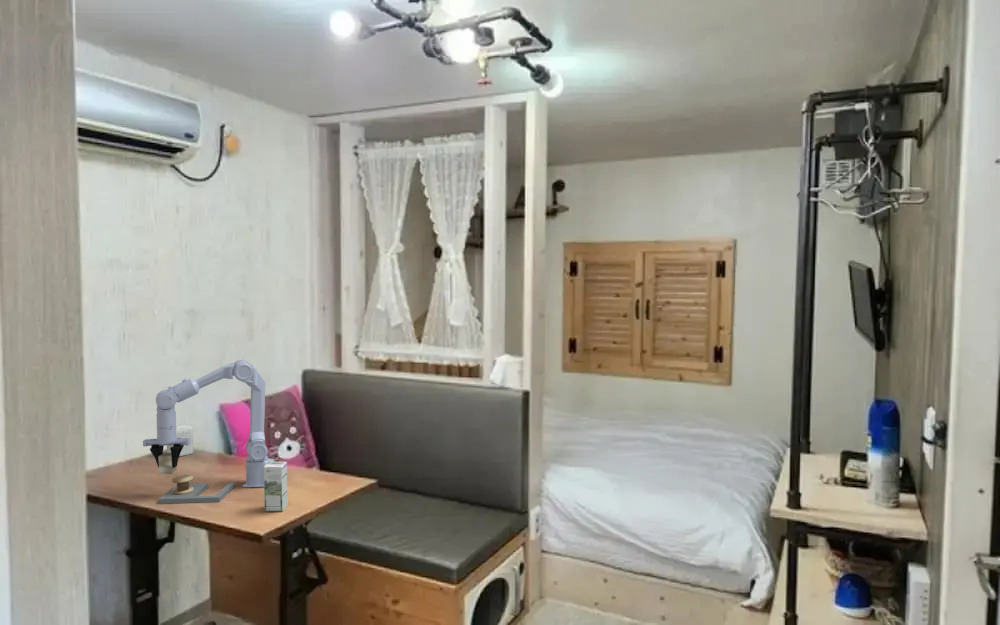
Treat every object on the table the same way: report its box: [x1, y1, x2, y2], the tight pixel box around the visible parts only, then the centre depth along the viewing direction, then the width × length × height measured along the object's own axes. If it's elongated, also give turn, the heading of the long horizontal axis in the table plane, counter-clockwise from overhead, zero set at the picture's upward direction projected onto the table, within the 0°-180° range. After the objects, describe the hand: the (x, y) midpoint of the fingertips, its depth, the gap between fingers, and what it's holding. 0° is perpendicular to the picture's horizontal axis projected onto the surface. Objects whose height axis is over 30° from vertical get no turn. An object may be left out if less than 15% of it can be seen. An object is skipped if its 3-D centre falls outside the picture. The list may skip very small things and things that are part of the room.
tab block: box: [158, 452, 178, 475], centre depth 216 cm, size 4×4×6 cm
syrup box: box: [263, 461, 289, 513], centre depth 204 cm, size 6×6×14 cm
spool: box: [171, 474, 194, 495], centre depth 216 cm, size 6×6×5 cm
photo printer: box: [166, 424, 194, 457], centre depth 266 cm, size 10×4×12 cm, turn 147°
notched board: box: [157, 481, 236, 505], centre depth 217 cm, size 19×16×2 cm
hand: (167, 466), depth 215 cm, fingers closed on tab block, 4 cm apart
